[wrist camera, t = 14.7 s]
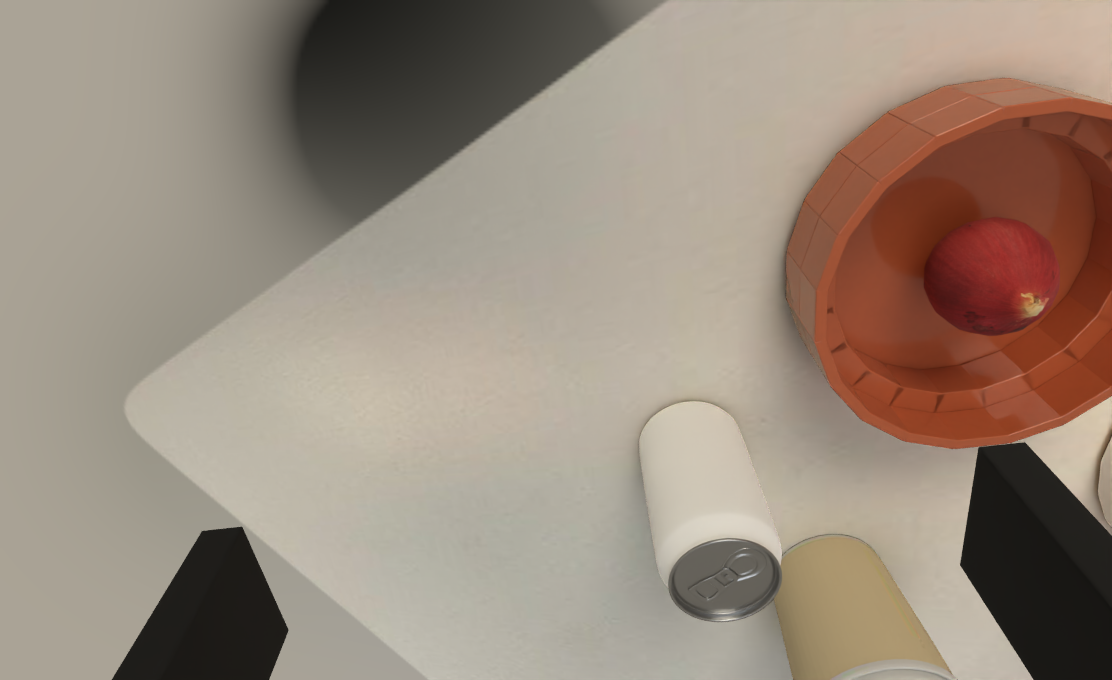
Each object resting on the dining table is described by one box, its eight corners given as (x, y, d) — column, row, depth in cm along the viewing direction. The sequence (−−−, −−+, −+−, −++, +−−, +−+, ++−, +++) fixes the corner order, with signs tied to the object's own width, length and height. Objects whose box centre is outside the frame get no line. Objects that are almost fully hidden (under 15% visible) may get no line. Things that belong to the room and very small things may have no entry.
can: (760, 439, 47) (817, 582, 37) (683, 496, 49) (716, 646, 39) (693, 378, 45) (734, 511, 34) (616, 440, 47) (632, 583, 37)
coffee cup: (795, 638, 56) (850, 801, 45) (734, 562, 52) (779, 719, 42) (913, 586, 53) (1001, 746, 43) (858, 503, 50) (938, 654, 39)
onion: (1006, 286, 41) (1097, 357, 34) (900, 307, 42) (969, 380, 35) (1012, 187, 39) (1112, 241, 32) (899, 211, 39) (973, 269, 32)
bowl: (784, 104, 37) (820, 131, 32) (1160, 53, 36) (1263, 71, 31) (782, 404, 46) (810, 464, 41) (1087, 371, 45) (1158, 428, 39)
